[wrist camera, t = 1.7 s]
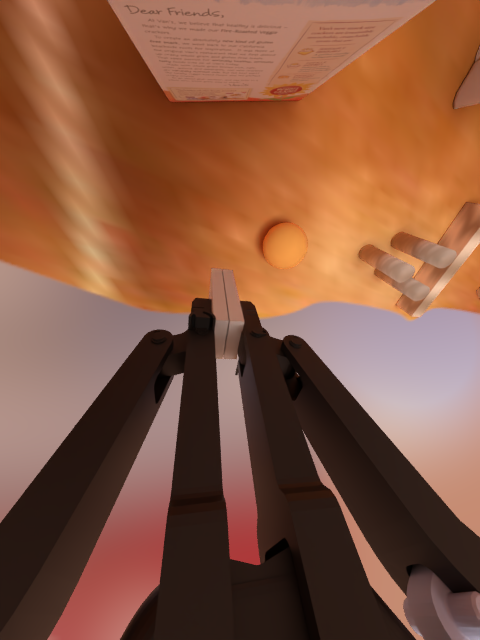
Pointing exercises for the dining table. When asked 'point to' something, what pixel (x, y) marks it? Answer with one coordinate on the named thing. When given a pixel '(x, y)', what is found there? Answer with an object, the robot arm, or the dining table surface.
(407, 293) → the pin
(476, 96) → the tall pale column
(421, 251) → the pin
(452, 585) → the robot arm
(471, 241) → the back wall
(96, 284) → the dining table surface
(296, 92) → the cracker box
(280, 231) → the ball
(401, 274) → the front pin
